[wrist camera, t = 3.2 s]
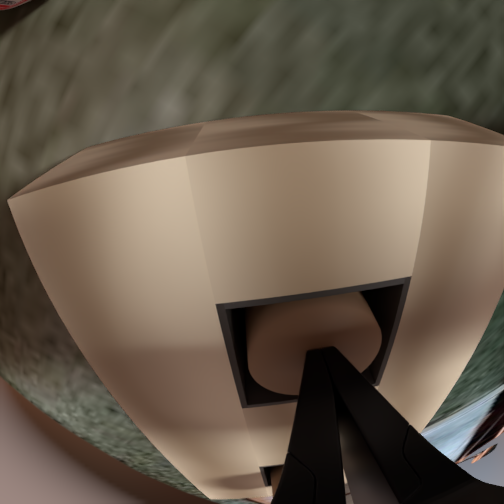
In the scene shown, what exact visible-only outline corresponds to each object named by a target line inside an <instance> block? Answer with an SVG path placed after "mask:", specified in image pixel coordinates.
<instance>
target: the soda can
mask: <svg viewBox="0 0 504 504" xmlns="http://www.w3.org/2000/svg"><path fill="white" fill-rule="evenodd" d="M28 1H30V0H0V10H6V9H11V8H14V7H17V6H19V5H22V4H24V3H26V2H28Z"/></svg>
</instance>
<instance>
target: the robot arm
mask: <svg viewBox="0 0 504 504" xmlns="http://www.w3.org/2000/svg"><path fill="white" fill-rule="evenodd" d="M343 469H344V471H343ZM344 473H345V476H346V479H347V483H348V486H349V490H350V493H351V496H352V500H353V503H354V504H504V487H502V486H497V485H493V484H488V483H485V482H482V481H480V480H478V479H476V478H474V477H473V476H471V475H470V474H468V473H467V472H466V471H465V470H463V469H462V468H461V467H459V466H458V465H457V464H455V463H454V462H453V461H451V460H450V459H449V458H447V457H446V456H445V455H444V454H442V453H441V452H440V451H439V450H437V449H436V448H435V447H434V446H433V445H431V444H430V443H429V442H428V441H427V440H426V439H425V438H424V437H423V436H422V435H421V434H420V433H419V432H418V431H417V430H416V429H415V428H414V427H413V426H412V425H409V422H408V421H407V420H406V419H405V418H404V417H403V416H402V415H401V414H400V413H399V412H398V411H397V410H396V409H395V408H394V407H393V406H392V405H391V404H390V403H389V402H388V401H387V400H386V398H385V397H384V396H383V395H382V394H381V393H380V392H379V391H378V390H377V389H376V388H375V387H374V386H373V385H372V384H371V383H370V382H369V381H368V380H367V379H366V378H365V377H364V376H363V375H362V374H361V373H360V372H359V371H358V370H357V369H356V368H355V367H354V365H353V364H352V363H351V362H350V361H349V360H348V359H347V358H346V357H345V356H344V355H343V354H342V353H341V352H340V351H339V350H338V349H337V348H336V347H334V346H330V347H324V348H321V350H320V349H312V350H307V351H306V355H305V361H304V367H303V373H302V379H301V384H300V390H299V395H298V401H297V406H296V411H295V416H294V421H293V426H292V431H291V436H290V440H289V445H288V449H287V454H286V458H285V462H284V466H283V470H282V473H281V477H280V480H279V483H278V486H277V489H276V491H275V494H274V497H273V499H272V501H271V504H346V493H345V482H344Z"/></svg>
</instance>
